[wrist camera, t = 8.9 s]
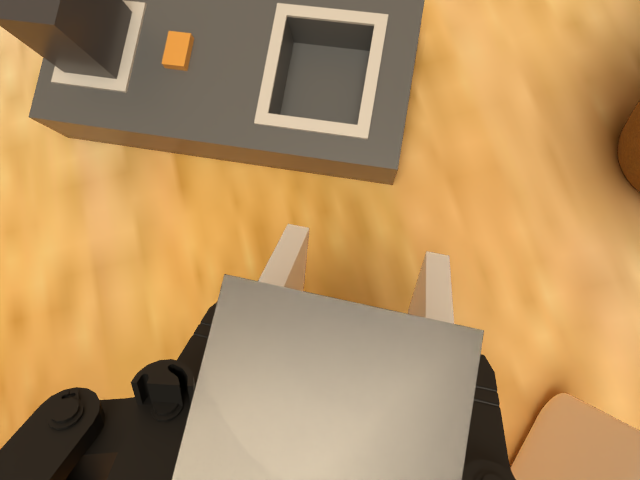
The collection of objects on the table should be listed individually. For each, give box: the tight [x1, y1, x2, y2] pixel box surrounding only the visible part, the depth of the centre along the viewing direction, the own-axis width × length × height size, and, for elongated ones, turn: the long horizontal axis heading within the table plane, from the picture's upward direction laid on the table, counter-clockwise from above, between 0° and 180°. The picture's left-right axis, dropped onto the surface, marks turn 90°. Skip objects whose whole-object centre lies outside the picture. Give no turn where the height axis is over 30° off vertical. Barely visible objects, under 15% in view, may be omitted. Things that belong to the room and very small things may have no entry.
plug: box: [172, 274, 484, 480], centre depth 12 cm, size 4×5×12 cm
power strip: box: [0, 0, 424, 185], centre depth 27 cm, size 26×12×10 cm, turn 80°
